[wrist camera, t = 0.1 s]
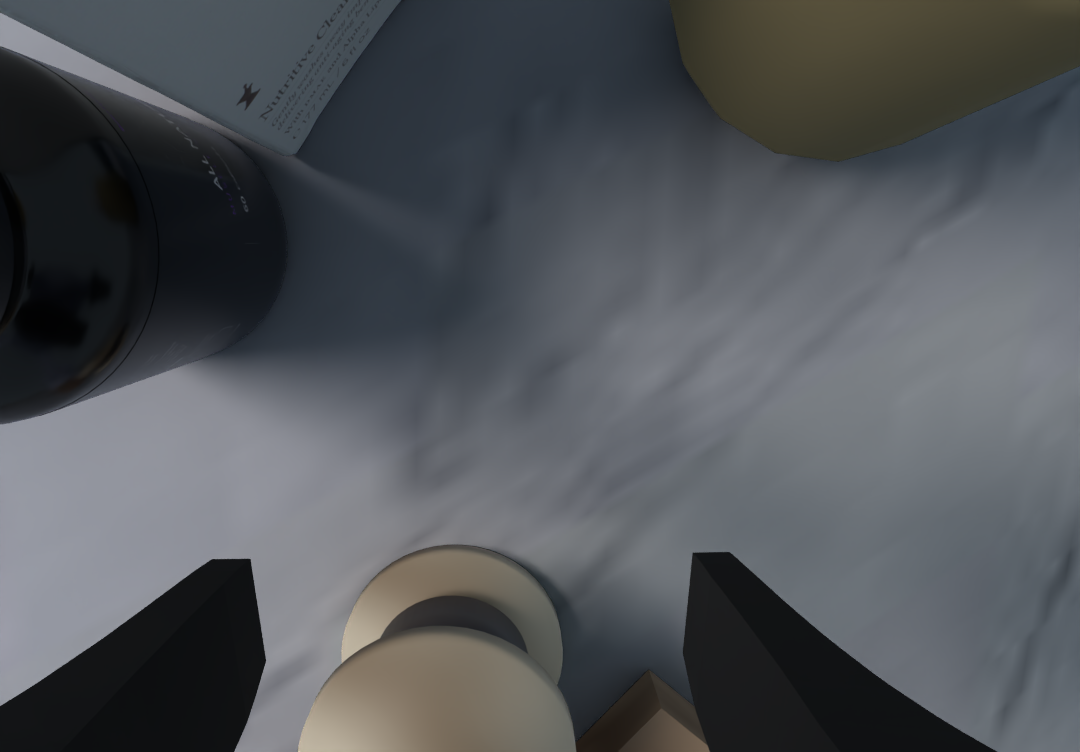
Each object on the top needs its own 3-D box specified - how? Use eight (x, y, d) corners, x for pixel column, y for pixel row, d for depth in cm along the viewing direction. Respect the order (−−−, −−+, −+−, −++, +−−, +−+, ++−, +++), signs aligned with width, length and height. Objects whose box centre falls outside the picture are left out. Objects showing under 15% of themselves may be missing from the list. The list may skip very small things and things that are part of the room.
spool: (465, 776, 24) (453, 931, 19) (302, 656, 23) (239, 783, 18) (604, 634, 23) (633, 752, 18) (442, 502, 22) (421, 586, 17)
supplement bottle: (305, 138, 20) (19, -1, 8) (281, 373, 21) (1, 539, 10) (54, 93, 20) (-630, -123, 8) (44, 336, 21) (-559, 465, 9)
